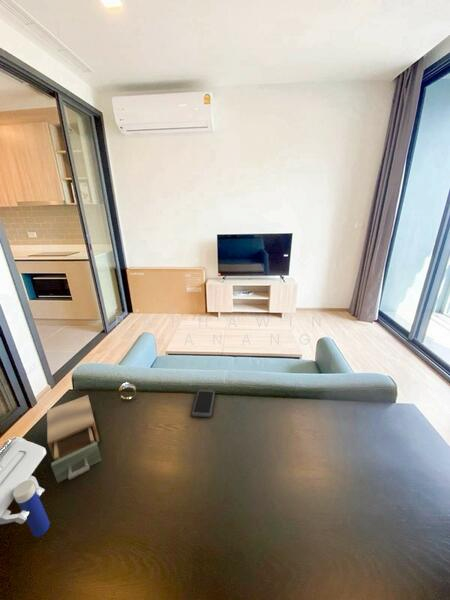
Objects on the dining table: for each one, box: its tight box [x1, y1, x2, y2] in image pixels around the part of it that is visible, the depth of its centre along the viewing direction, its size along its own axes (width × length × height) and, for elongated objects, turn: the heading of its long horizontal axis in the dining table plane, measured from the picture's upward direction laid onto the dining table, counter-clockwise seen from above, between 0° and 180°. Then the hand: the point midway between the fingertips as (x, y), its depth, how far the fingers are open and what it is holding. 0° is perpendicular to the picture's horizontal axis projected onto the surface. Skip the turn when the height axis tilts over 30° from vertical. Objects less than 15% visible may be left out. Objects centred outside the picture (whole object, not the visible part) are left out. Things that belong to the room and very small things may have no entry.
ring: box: [117, 382, 137, 401], centre depth 98 cm, size 7×3×8 cm, turn 98°
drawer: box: [50, 426, 102, 484], centre depth 75 cm, size 19×11×7 cm, turn 35°
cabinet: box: [46, 394, 100, 462], centre depth 83 cm, size 16×13×9 cm
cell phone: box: [191, 389, 216, 418], centre depth 97 cm, size 7×14×1 cm, turn 175°
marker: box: [13, 480, 51, 538], centre depth 54 cm, size 3×3×14 cm
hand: (34, 506), depth 53 cm, fingers closed on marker, 3 cm apart
